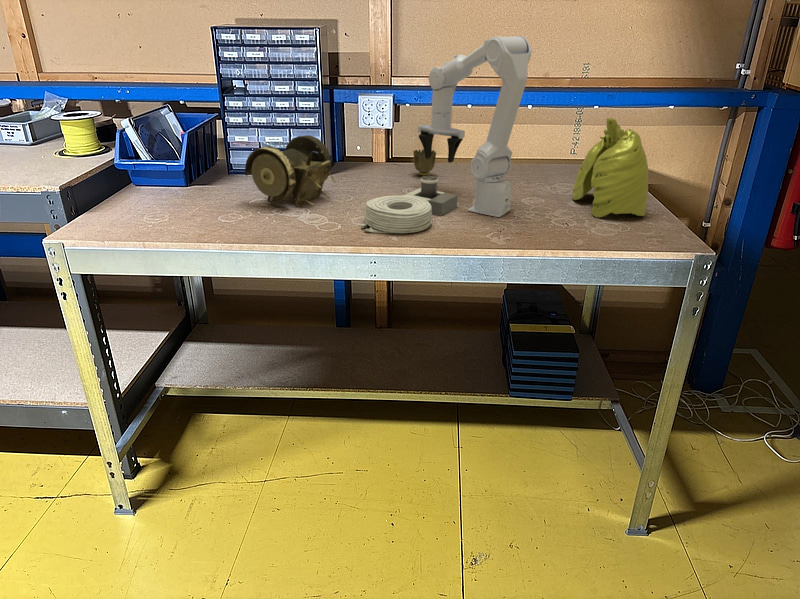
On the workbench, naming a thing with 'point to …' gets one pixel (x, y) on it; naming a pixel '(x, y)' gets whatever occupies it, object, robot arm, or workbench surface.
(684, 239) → the workbench surface
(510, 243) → the workbench surface
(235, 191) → the workbench surface
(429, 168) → the olive spiky cup
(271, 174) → the bench grinder
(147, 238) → the workbench surface
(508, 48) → the robot arm
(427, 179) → the knob
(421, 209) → the cable
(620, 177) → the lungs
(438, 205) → the hollow square frame
